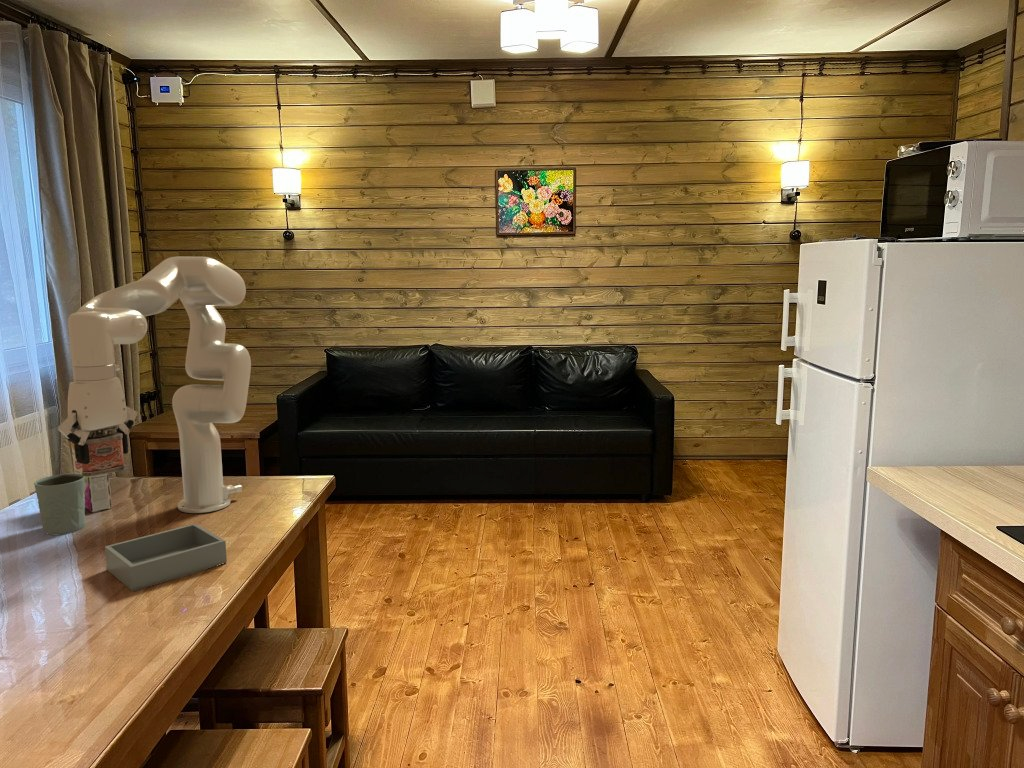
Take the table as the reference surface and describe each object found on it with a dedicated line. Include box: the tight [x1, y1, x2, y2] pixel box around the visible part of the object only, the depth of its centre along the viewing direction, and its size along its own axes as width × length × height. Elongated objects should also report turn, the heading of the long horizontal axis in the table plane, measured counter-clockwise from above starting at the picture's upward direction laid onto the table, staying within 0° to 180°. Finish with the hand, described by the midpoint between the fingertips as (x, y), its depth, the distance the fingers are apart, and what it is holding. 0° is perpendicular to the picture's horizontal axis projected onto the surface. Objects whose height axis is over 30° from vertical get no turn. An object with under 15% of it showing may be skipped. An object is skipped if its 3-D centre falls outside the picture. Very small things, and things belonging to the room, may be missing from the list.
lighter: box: [82, 426, 127, 477], centre depth 152 cm, size 8×3×10 cm, turn 135°
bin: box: [104, 523, 228, 592], centre depth 154 cm, size 19×15×5 cm
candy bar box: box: [70, 442, 112, 513], centre depth 190 cm, size 11×5×16 cm, turn 47°
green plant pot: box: [33, 473, 86, 535], centre depth 175 cm, size 10×10×12 cm
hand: (103, 457), depth 152 cm, fingers closed on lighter, 7 cm apart
